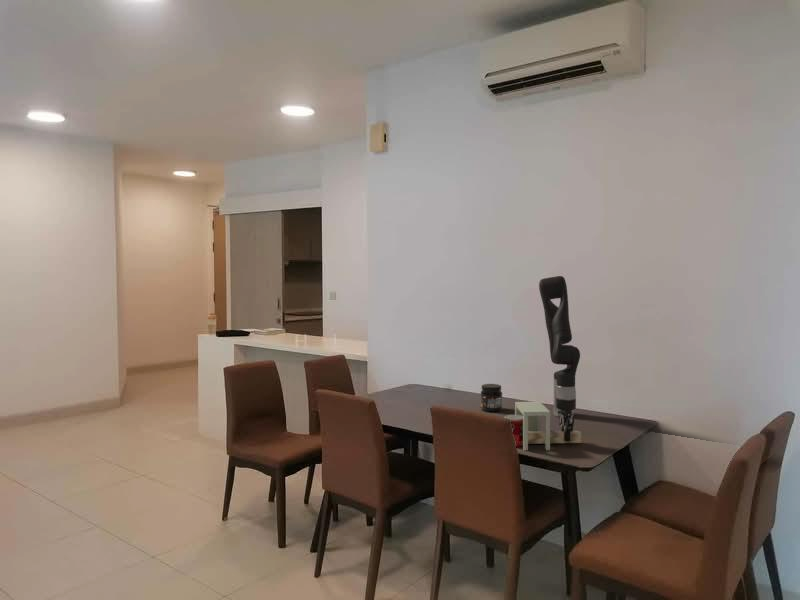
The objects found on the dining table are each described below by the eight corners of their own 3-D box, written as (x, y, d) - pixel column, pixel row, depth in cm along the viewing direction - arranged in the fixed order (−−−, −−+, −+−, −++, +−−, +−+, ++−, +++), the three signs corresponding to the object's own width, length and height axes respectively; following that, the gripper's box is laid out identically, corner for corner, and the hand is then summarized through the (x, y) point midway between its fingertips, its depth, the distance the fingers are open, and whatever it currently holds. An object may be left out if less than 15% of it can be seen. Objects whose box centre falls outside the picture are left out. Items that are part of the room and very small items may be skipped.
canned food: (502, 441, 233) (502, 414, 232) (521, 440, 234) (521, 414, 233) (507, 447, 225) (507, 419, 225) (527, 446, 226) (527, 419, 225)
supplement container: (482, 406, 290) (482, 382, 289) (503, 408, 287) (503, 384, 286) (478, 411, 280) (478, 387, 279) (500, 413, 277) (500, 388, 276)
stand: (515, 437, 238) (515, 401, 237) (539, 437, 238) (539, 401, 237) (523, 450, 222) (524, 412, 221) (549, 450, 222) (550, 411, 221)
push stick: (525, 443, 228) (525, 433, 228) (523, 441, 231) (523, 431, 231) (581, 442, 228) (581, 432, 228) (578, 440, 231) (578, 430, 231)
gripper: (551, 392, 235) (551, 434, 236) (561, 401, 221) (561, 445, 222) (569, 392, 236) (569, 434, 237) (581, 400, 222) (581, 444, 223)
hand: (565, 439), depth 230 cm, fingers closed on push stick, 3 cm apart
